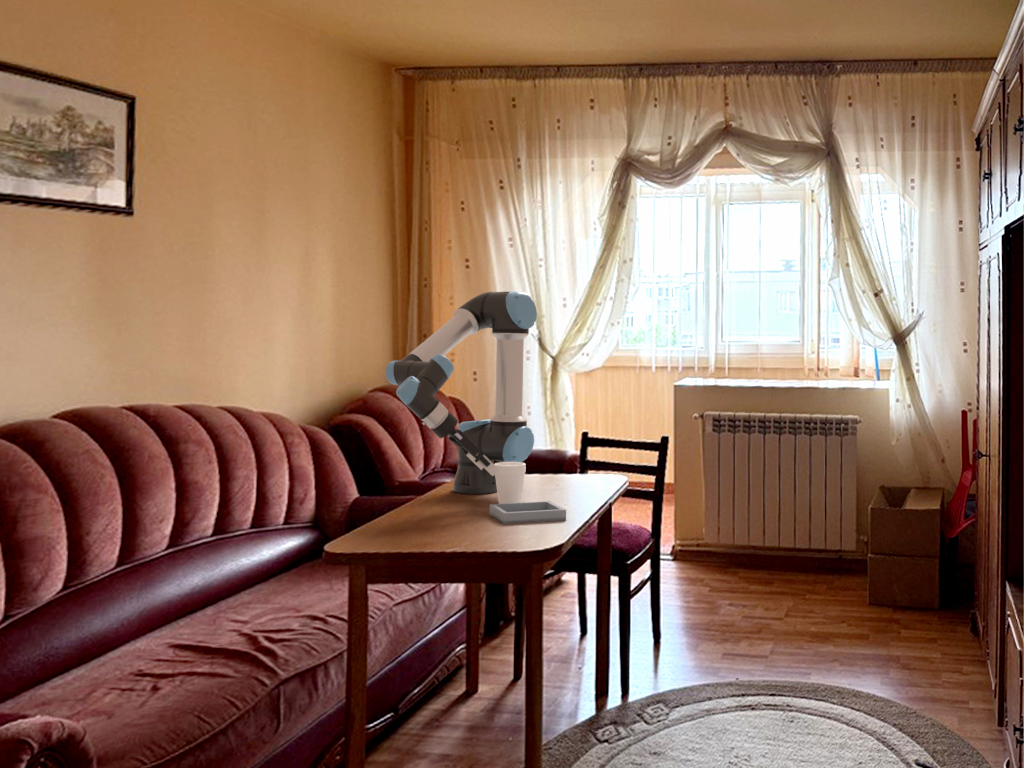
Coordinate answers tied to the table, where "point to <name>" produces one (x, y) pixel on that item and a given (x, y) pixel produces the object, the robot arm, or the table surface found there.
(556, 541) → the table surface
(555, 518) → the tray
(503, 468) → the foam cup
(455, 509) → the table surface
